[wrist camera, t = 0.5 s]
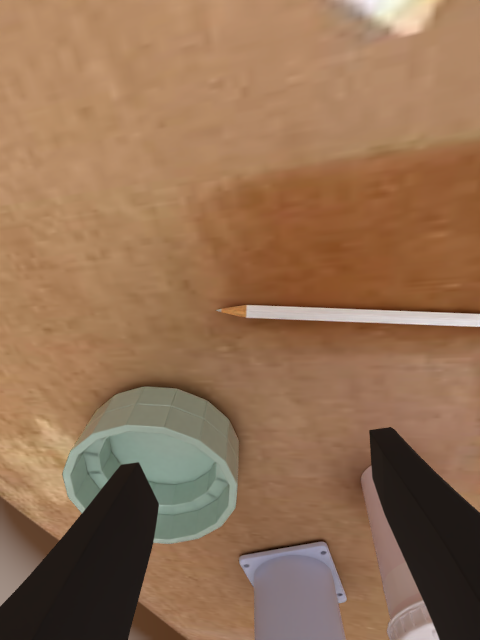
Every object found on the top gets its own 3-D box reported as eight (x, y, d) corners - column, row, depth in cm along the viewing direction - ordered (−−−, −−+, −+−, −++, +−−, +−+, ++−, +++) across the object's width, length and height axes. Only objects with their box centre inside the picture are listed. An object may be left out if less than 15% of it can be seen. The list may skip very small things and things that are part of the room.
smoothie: (336, 504, 26) (420, 826, 13) (350, 445, 23) (474, 782, 10) (416, 507, 26) (578, 834, 13) (440, 448, 23) (674, 792, 10)
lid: (257, 474, 25) (258, 527, 21) (134, 501, 26) (116, 554, 23) (206, 363, 20) (197, 406, 17) (64, 404, 22) (28, 450, 18)
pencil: (538, 326, 19) (548, 332, 18) (215, 314, 19) (214, 319, 18) (544, 314, 18) (554, 319, 18) (215, 301, 18) (214, 306, 18)
